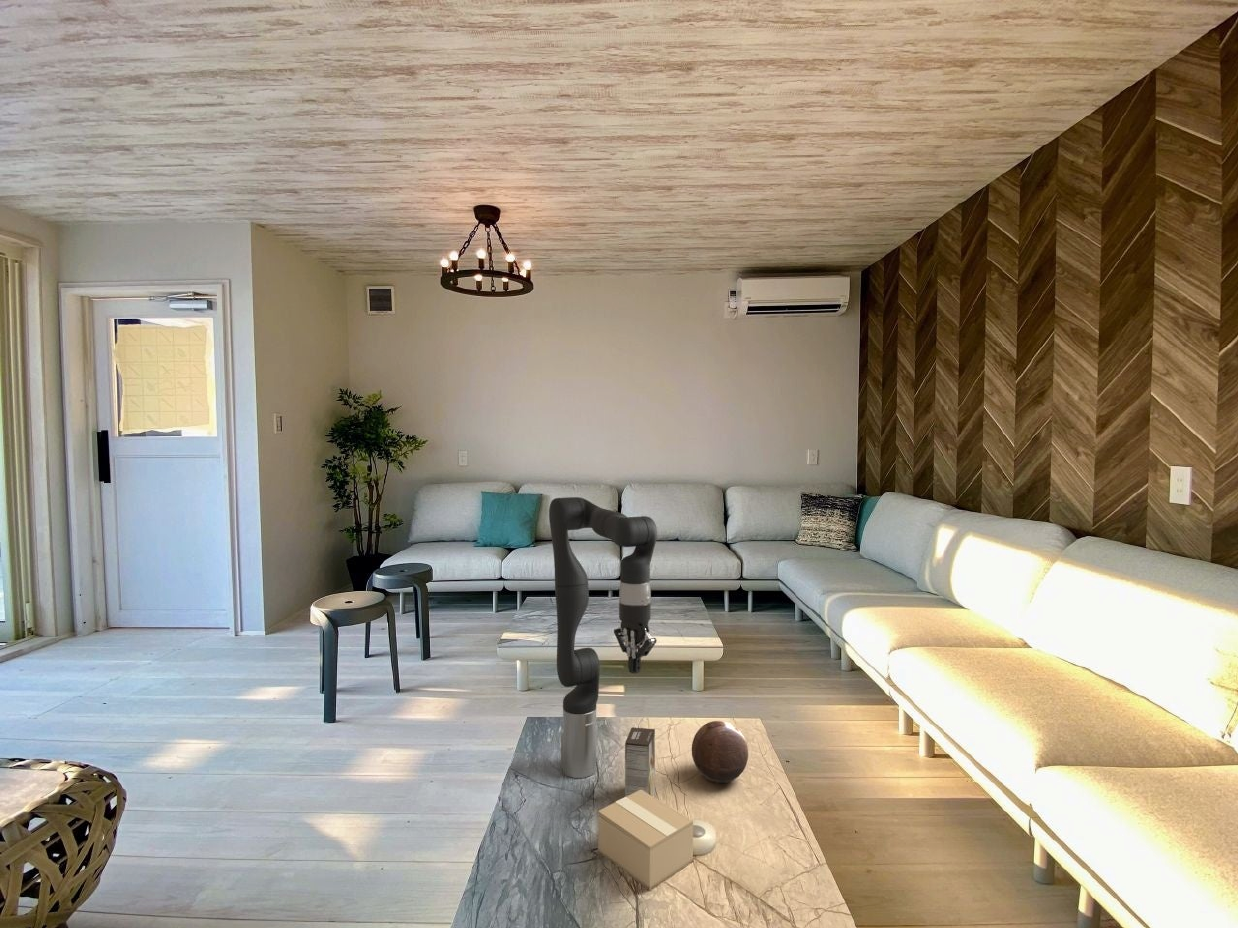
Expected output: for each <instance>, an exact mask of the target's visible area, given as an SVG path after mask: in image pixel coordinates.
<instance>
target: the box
mask: <svg viewBox="0 0 1238 928" xmlns="http://www.w3.org/2000/svg"><path fill="white" fill-rule="evenodd" d="M597 817H598V819H597V820H598V821H597V822H598V824H597V829H598V830H597V839H598V841H597V844H598V845H597V852H598V853H599V854H600V855H602V856H603V857H604V858H605V859H607V860H609V861H610V862H611V863H612V864H614V865H615V866H616V867H618V868H619V869H621V871H623V872H624V873H625V874H627V875H629V877H631V878H632V879H633V880H635V881H636V882H638V883H639V884H640V885H642V886H643V887H644V888H646V889H647V890H648V891H651V890H653V889H654V888H656V887H658V886H659V885H660V884H662V883H664V882H665V881H667V880H668V879H669V878H671V877H673V876H674V875H676V874H677V873H678V872H680V871H682V870H683V869H684V868H686V867H687V866H689V865H690V864H692V863H693V862H694V855H693V825H692V826H690V827H689V828H687V829H685V830H684V831H682V832H680V833H679V834H677V835H675V836H674V837H672V838H670V839H669V840H667V841H666V842H664V843H662V844H661V845H659V846H657V847H656V848H654V849H652V850H651V851H649V850H648V849H647V848H645V847H644V846H642V845H641V844H639V843H638V842H637V841H635V840H634V839H632V838H631V837H630V836H628V835H627V834H625V833H624V832H622V831H621V830H620V829H618V828H617V827H615V826H614V825H612V824H611V823H610V822H608V821H607V820H605V819H604V818H603V817H601V816H600V815H598V816H597Z"/></svg>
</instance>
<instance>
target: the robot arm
mask: <svg viewBox="0 0 1238 928" xmlns="http://www.w3.org/2000/svg"><path fill="white" fill-rule="evenodd" d="M548 518H549V529H550V536H551V537H550V538H551V542H552V543H551V544H552V551H553V561H554V562H553V563H554V592H555V604H556V606H555V607H556V619H557V620H556V621H557V625H556V627H557V636H556V637H557V638H556V639H557V640H556V641H557V642H556V671H557V677H558V681H559V683H560V684H561V685H562V686H563V687H566V688H570V687H574V686H575V687H574V688H573V689H572V690H571V691H569V692H568V693H567V694H565V696H564V697H563V700H562V731H561V733H560V768H561V769H562V772H563V774H564V775H566V776H567V777H570V778H574V779H575V778H576V779H583V778H588V777H590V776H592V775H593V774H595V772H596V771H597V702H598V700H599V691H600V689H599V688H600V675H601V673H600V672H601V668H600V665H601V664H600V659H599V656H598V654H597V652H596V650H595V649H593V648H592V647H583V648H578V649H577V648H576V649H575V643H576V642H575V641H576V634H577V632H578V631H577V630H578V628H579V626H580V623H581V622H582V621H581V620H582V619H583V617H584V615H585V612H586V610H587V607H588V605H589V603H590V602H589V601H590V594H589V593H590V590H589V578H588V575H587V572H586V571H585V569H584V567H583V566H582V563H580V561H579V560H578V558H577V556H576V555H575V553H574V552H573V549H572V548H571V547H572V546H571V544H570V539H569V531H577V530H582V529H592V531H593V532H594V533H595V534H596V535H598V536H600V537H602V538H605V539H609V540H611V541H612V542H613V543H614V544H615V545H617V546H619V547H622V548H633V547H634V550H633V552H632V553H631V554H629V555H627V556H625V557H623V558H622V559H621V560H620V566H619V567H620V583H619V590H618V596H619V600H618V602H619V603H618V605H619V606H618V619H619V621H621V622H620V626H619V627H618V628H615V629H613V634H614V635H615V637H616V641H617V642H618V646H619V647H620V649H621V651H622V652H623V653H625V654H626V656H627V658H628V660H627V662H628V663H627V668H628V672H629V673H630V674H633V675H636V674H639V673H640V671H641V669H642V668H641V667H642V662H641V658H643V657H646V656H648V655H649V653H650V652H651V651H652V649H653V648H654V646H655V644H657V638H656V637H653V636H651V634H650V628H649V627H650V626H649V622H650V620H651V616H652V615H651V604H652V603H651V601H652V600H651V599H652V598H651V596H652V595H651V594H652V591H651V584H650V581H651V580H650V579H651V578H650V574H651V572H650V570H651V569H650V568H651V562H652V558H653V556H654V555H653V554H654V550H655V547H656V542H657V538H658V528H657V524H656V522H655V520H654V519H653V518H651V516H646V515H645V516H644V515H643V516H629V517H628V516H627V515H626V514H623V512H618V511H615V510H610V509H607V508H602V507H600V506H598V505H596V504H594V503H593V502H591V501H590V500H587V499H586V498H583V497H578V496H571V497H557V498H556V497H555V498H553V499H551V502H550V504H549V509H548Z"/></svg>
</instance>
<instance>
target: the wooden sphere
mask: <svg viewBox="0 0 1238 928" xmlns="http://www.w3.org/2000/svg"><path fill="white" fill-rule="evenodd" d="M747 744H748V743H747V741H746V739H745V736H744V735H743V733H742V732H741V731H740V730H739V729H738V728H737V727H736V726H735V725H733V724H732V723H729V722H727V721H722V720H714V721H710V722H707V723H706V724H703V725H702V726H701V727H700V728H699V729H698V730H697V731H696V733H695V735H694V736H693V739H692V743H691V757H692V761H693V763H694V765H695V767H696V769H697V771H699V773H700V774H701V775H702V776H704V777H705V778H706V779H707V780H710V781H712V782H715V783H720V784H721V783H723V784H724V783H729V782H731V781H734V780H736V779H737V778H738V777H740V776H741V774H742V773H744V770H745V769H746V766H747V764H748V760H749V748H748V745H747Z"/></svg>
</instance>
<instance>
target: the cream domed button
mask: <svg viewBox="0 0 1238 928" xmlns="http://www.w3.org/2000/svg"><path fill="white" fill-rule="evenodd" d="M691 820H692V821H693V856H703V855H708V854H710V853H712V852H713V851H714V850H715V848H716V846H717V843H716V842H717V841H716V840H717V838H716V837H717V832H716V830H715V827H714V826H713V825H711V824H710V823H708V822H706V821H704V820H702V819H701V820H700V819H691Z"/></svg>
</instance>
